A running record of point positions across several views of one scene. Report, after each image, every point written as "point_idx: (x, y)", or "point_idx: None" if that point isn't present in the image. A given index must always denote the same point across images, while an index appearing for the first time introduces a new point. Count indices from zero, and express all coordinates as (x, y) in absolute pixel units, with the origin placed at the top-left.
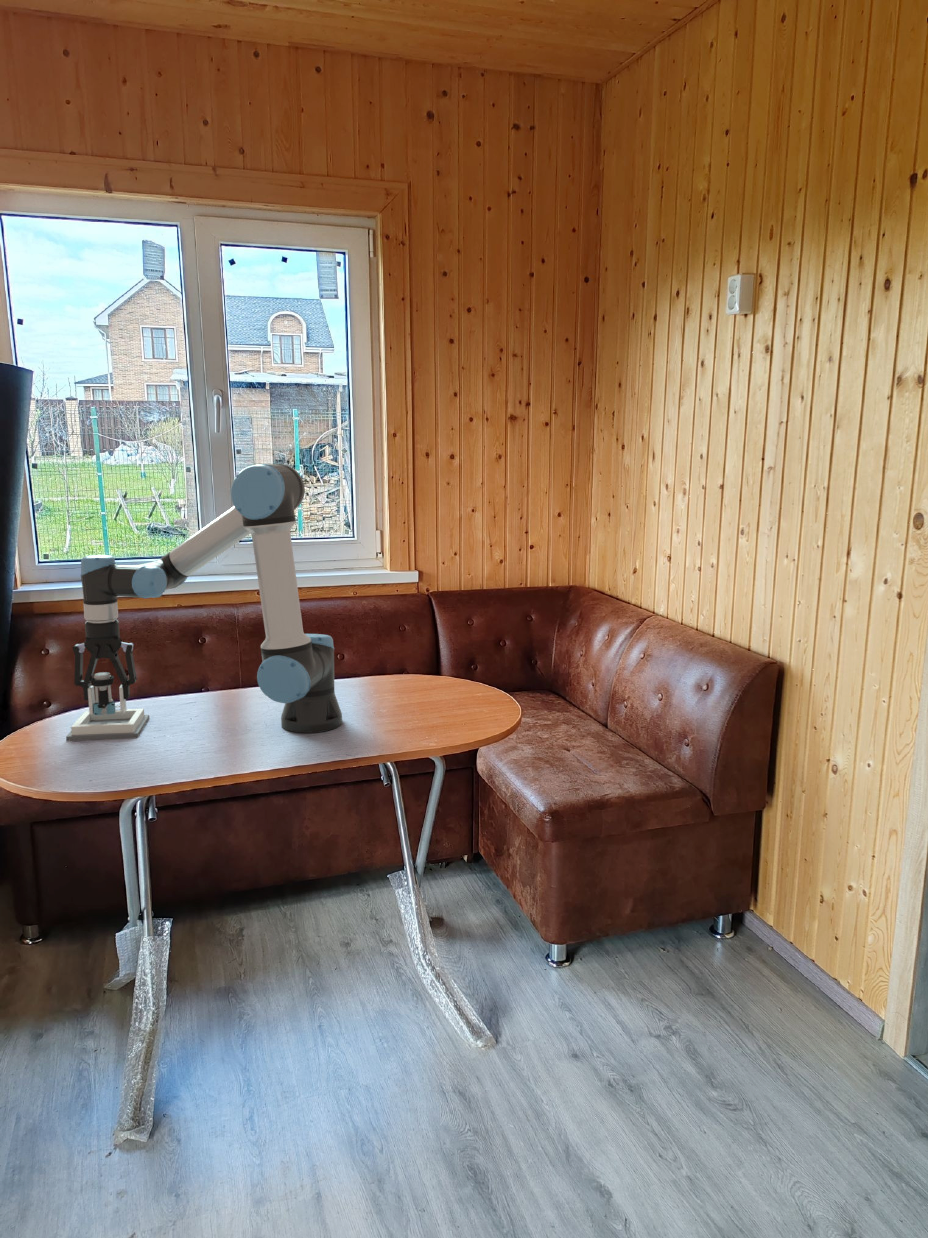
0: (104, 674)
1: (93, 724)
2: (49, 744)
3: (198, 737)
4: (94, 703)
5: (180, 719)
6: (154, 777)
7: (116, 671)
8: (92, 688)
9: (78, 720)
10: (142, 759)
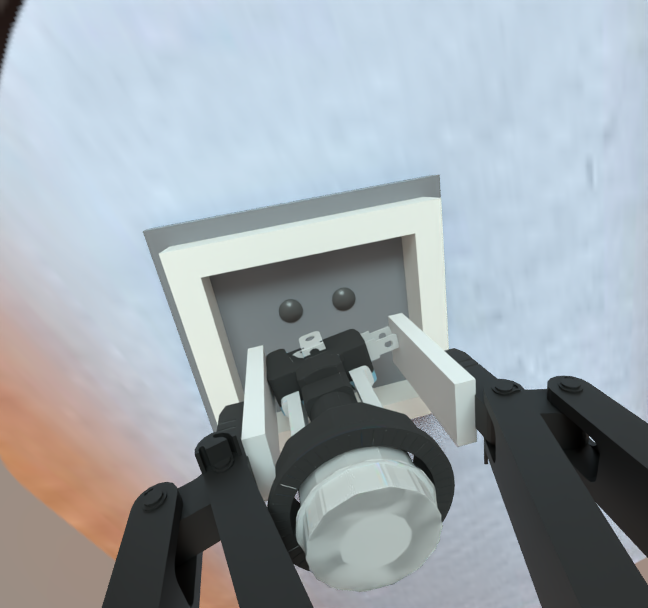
0: (406, 551)
1: None
2: (187, 482)
3: (613, 368)
4: (273, 390)
5: (551, 182)
6: (534, 591)
7: (529, 560)
8: (273, 458)
9: (214, 394)
10: (493, 524)
